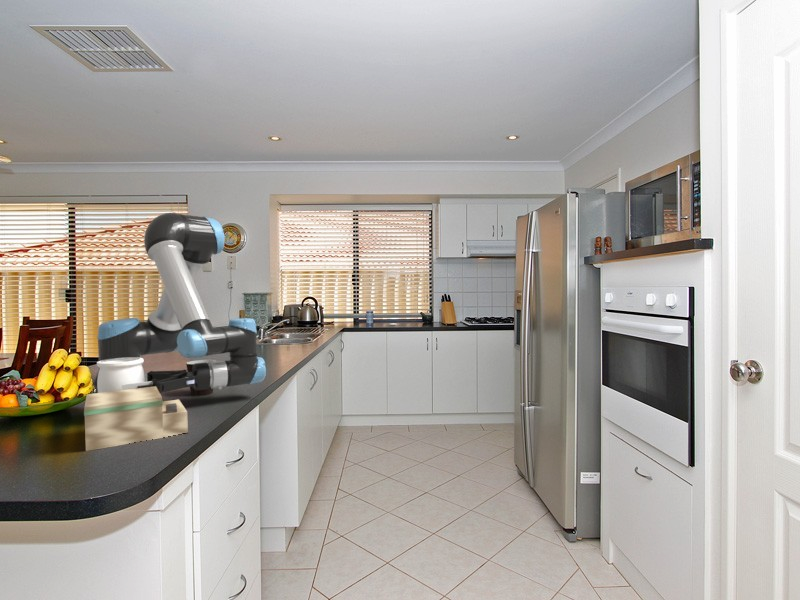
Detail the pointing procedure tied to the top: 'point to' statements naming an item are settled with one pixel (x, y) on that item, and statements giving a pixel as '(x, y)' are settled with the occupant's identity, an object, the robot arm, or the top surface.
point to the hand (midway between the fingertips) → (120, 385)
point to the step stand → (131, 417)
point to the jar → (119, 373)
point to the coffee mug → (193, 391)
